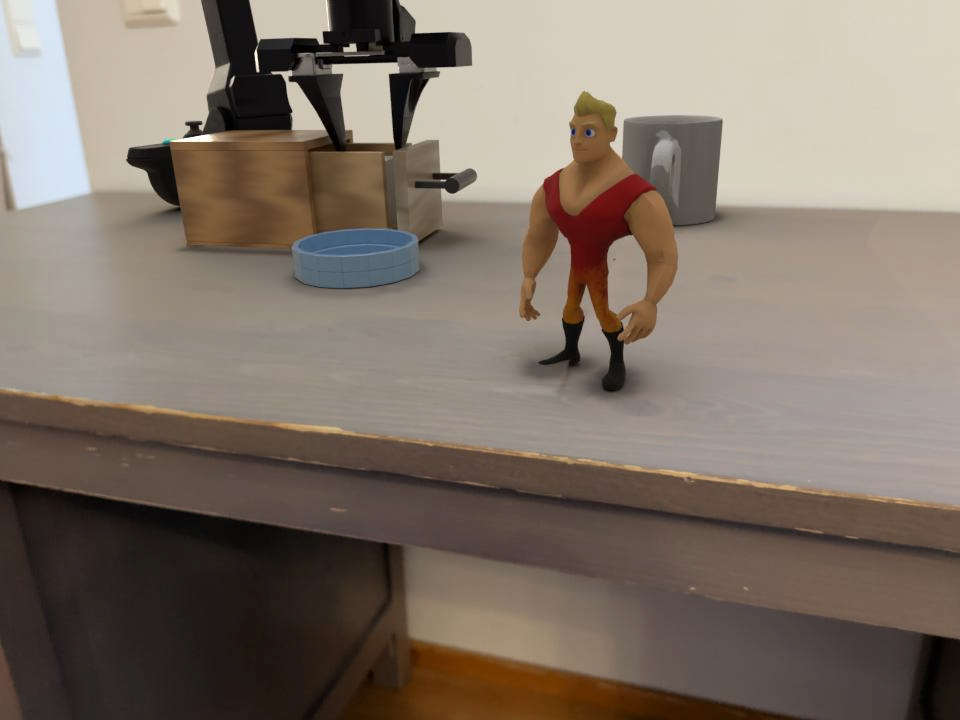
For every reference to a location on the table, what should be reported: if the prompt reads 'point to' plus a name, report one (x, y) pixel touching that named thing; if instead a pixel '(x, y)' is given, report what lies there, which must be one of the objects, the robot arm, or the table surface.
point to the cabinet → (247, 186)
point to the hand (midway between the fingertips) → (370, 153)
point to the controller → (161, 164)
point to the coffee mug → (677, 161)
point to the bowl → (356, 257)
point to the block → (391, 189)
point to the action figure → (598, 235)
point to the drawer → (381, 186)
